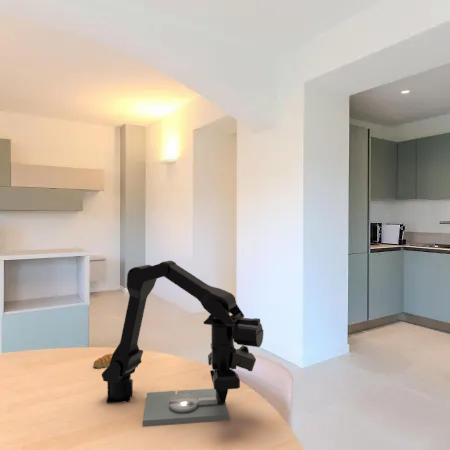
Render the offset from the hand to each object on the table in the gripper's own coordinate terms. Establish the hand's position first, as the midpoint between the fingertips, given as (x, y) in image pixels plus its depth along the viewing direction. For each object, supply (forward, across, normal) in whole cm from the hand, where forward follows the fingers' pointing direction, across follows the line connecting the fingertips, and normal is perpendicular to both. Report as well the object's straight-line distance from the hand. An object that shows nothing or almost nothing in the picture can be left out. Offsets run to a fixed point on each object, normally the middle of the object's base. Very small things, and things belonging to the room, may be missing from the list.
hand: (222, 401), depth 102 cm
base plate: (+5, +7, +10) cm, 13 cm away
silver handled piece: (+3, +6, +6) cm, 9 cm away
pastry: (+5, +44, +36) cm, 57 cm away
